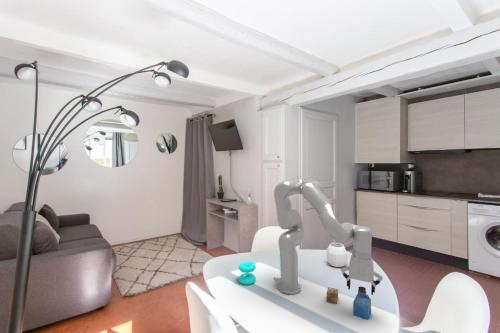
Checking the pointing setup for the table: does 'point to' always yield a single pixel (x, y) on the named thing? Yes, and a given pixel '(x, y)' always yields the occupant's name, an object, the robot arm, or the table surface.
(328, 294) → the letter cube
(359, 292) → the perfume bottle
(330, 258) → the white jar
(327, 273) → the table surface
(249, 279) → the donuts
